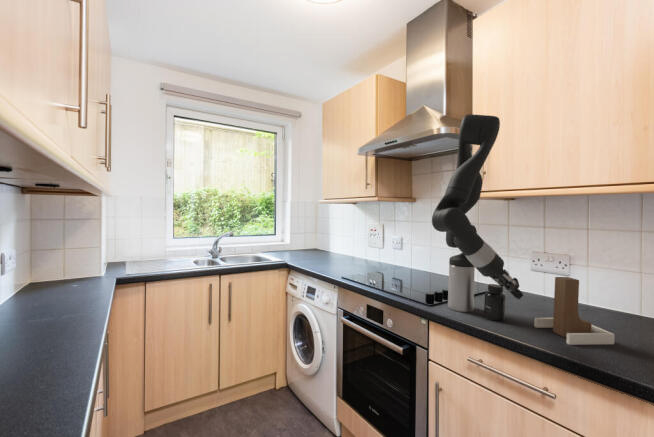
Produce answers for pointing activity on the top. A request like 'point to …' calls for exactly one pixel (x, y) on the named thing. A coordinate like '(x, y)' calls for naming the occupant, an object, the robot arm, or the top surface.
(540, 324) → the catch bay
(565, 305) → the wooden block
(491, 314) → the supplement bottle
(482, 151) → the robot arm
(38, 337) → the top surface
